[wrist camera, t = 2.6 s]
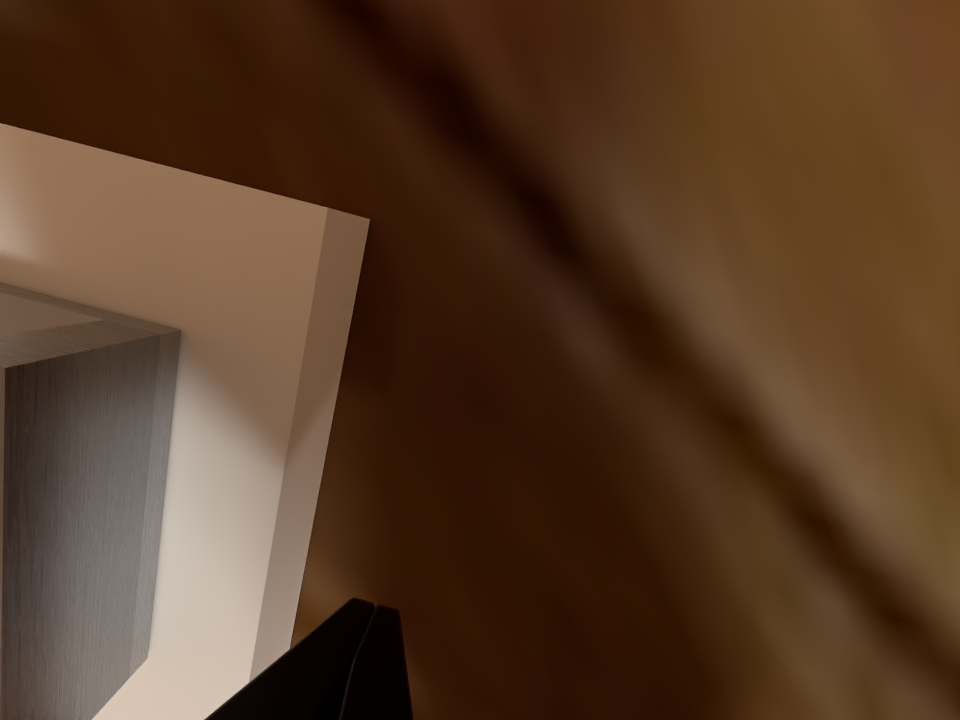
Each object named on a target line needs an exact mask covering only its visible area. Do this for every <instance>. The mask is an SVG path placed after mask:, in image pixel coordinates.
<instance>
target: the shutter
mask: <svg viewBox="0 0 960 720" xmlns="http://www.w3.org/2000/svg"><path fill="white" fill-rule="evenodd" d="M180 337H181V330H180V329H176V328H172V327H168V326H164V325H161V324H157V323H153V322H149V321H145V320H142V319H138V318H134V317H130V316H126V315H122V314H119V313H115V312H111V311H107V310H103V309H100V308H96V307H92V306H88V305H84V304H81V303H77V302H73V301H69V300H65V299H61V298H58V297H54V296H50V295H46V294H42V293H39V292H35V291H31V290H27V289H23V288H20V287H16V286H12V285H8V284H4V283H0V720H92V719H93V718H94V717H95V716H96V714H97V713H98V712H99V711H100V710H101V709H102V708H103V707H104V706H105V705H106V703H107V702H108V701H109V700H110V699H111V698H112V697H113V696H114V695H115V694H116V692H117V691H118V690H119V689H120V688H121V687H122V686H123V685H124V684H125V683H126V681H127V680H128V679H129V678H130V677H131V676H132V675H133V674H134V673H135V672H136V671H137V669H138V668H139V667H140V666H141V665H142V664H143V663H144V662H145V661H146V660H147V658H148V650H149V640H150V630H151V620H152V611H153V601H154V591H155V581H156V572H157V562H158V552H159V542H160V533H161V523H162V513H163V503H164V493H165V484H166V474H167V464H168V454H169V445H170V435H171V425H172V415H173V406H174V396H175V386H176V376H177V366H178V357H179V347H180Z"/></svg>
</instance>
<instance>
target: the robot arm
mask: <svg viewBox="0 0 960 720" xmlns="http://www.w3.org/2000/svg"><path fill="white" fill-rule="evenodd" d="M204 720H413V713H412V705H411V697H410V689H409V681H408V674H407V666H406V658H405V650H404V642H403V635H402V627H401V619H400V613H399V611H398V610H397V609H395V608H392V607H388V606H384V605H380V604H379V605H377V606H376V607H375V606H374V604H373V603H372V602H369V601H366V600H362V599H358V598H352V599H350V600H349V601H347V602H346V603H345V604H344V605H343V606H341V607H340V608H339V609H338V610H336V611H335V612H334V613H333V614H332V615H330V616H329V617H328V618H327V619H326V620H324V621H323V622H322V623H321V624H319V625H318V626H317V627H316V628H315V629H313V630H312V631H311V632H310V633H309V634H307V635H306V636H305V637H304V638H302V639H301V640H300V641H299V642H298V643H296V644H295V645H294V646H293V647H291V648H290V649H289V650H288V651H287V652H285V653H284V654H283V655H282V656H281V657H279V658H278V659H277V660H276V661H274V662H273V663H272V664H271V665H270V666H268V667H267V668H266V669H265V670H264V671H262V672H261V673H260V674H259V675H257V676H256V677H255V678H254V679H253V680H251V681H250V682H249V683H248V684H247V685H245V686H244V687H243V688H242V689H240V690H239V691H238V692H237V693H236V694H234V695H233V696H232V697H231V698H230V699H228V700H227V701H226V702H225V703H223V704H222V705H221V706H220V707H219V708H217V709H216V710H215V711H214V712H213V713H211V714H210V715H209V716H208V717H206V718H205V719H204Z"/></svg>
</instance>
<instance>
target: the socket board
mask: <svg viewBox="0 0 960 720" xmlns="http://www.w3.org/2000/svg"><path fill="white" fill-rule="evenodd" d="M369 223H370V219H367V218H364V217H360V216H356V215H353V214H349V213H345V212H342V211H338V210H335V209H331V208H327V207H323V206H319V205H316V204H312V203H308V202H304V201H300V200H296V199H292V198H288V197H285V196H281V195H277V194H273V193H269V192H265V191H261V190H258V189H254V188H250V187H246V186H242V185H238V184H234V183H230V182H227V181H223V180H219V179H215V178H211V177H207V176H203V175H199V174H196V173H192V172H188V171H184V170H180V169H176V168H172V167H168V166H165V165H161V164H157V163H153V162H149V161H145V160H141V159H137V158H134V157H130V156H126V155H122V154H118V153H114V152H110V151H107V150H103V149H99V148H95V147H91V146H87V145H83V144H79V143H76V142H72V141H68V140H64V139H60V138H56V137H52V136H48V135H45V134H41V133H37V132H33V131H29V130H25V129H21V128H17V127H14V126H10V125H6V124H2V123H0V283H4V284H8V285H12V286H16V287H20V288H23V289H27V290H31V291H35V292H39V293H42V294H46V295H50V296H54V297H58V298H61V299H65V300H69V301H73V302H77V303H81V304H84V305H88V306H92V307H96V308H100V309H103V310H107V311H111V312H115V313H119V314H122V315H126V316H130V317H134V318H138V319H142V320H145V321H149V322H153V323H157V324H161V325H164V326H168V327H172V328H176V329H180V330H181V337H180V347H179V357H178V366H177V376H176V386H175V396H174V406H173V415H172V425H171V435H170V445H169V454H168V464H167V474H166V484H165V493H164V503H163V513H162V523H161V533H160V542H159V552H158V562H157V572H156V581H155V591H154V601H153V611H152V620H151V630H150V640H149V650H148V658H147V660H146V661H145V662H144V663H143V664H142V665H141V666H140V667H139V668H138V669H137V671H136V672H135V673H134V674H133V675H132V676H131V677H130V678H129V679H128V680H127V681H126V683H125V684H124V685H123V686H122V687H121V688H120V689H119V690H118V691H117V692H116V694H115V695H114V696H113V697H112V698H111V699H110V700H109V701H108V702H107V703H106V705H105V706H104V707H103V708H102V709H101V710H100V711H99V712H98V713H97V714H96V716H95V717H94V718H93V719H92V720H204V719H205V718H206V717H208V716H209V715H210V714H211V713H213V712H214V711H215V710H216V709H217V708H219V707H220V706H221V705H222V704H223V703H225V702H226V701H227V700H228V699H230V698H231V697H232V696H233V695H234V694H236V693H237V692H238V691H239V690H240V689H242V688H243V687H244V686H245V685H247V684H248V683H249V682H250V681H251V680H253V679H254V678H255V677H256V676H257V675H259V674H260V673H261V672H262V671H264V670H265V669H266V668H267V667H268V666H270V665H271V664H272V663H273V662H274V661H276V660H277V659H278V658H279V657H281V656H282V655H283V654H284V653H285V652H287V651H288V650H289V648H290V643H291V638H292V632H293V627H294V622H295V616H296V611H297V606H298V600H299V595H300V590H301V585H302V579H303V574H304V569H305V563H306V558H307V553H308V547H309V542H310V537H311V531H312V526H313V521H314V515H315V510H316V505H317V499H318V494H319V489H320V483H321V478H322V473H323V467H324V462H325V457H326V451H327V446H328V441H329V436H330V430H331V425H332V420H333V414H334V409H335V404H336V398H337V393H338V388H339V382H340V377H341V372H342V366H343V361H344V356H345V350H346V345H347V340H348V334H349V329H350V324H351V318H352V313H353V308H354V302H355V297H356V292H357V287H358V281H359V276H360V271H361V265H362V260H363V255H364V249H365V244H366V239H367V233H368V228H369Z"/></svg>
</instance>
